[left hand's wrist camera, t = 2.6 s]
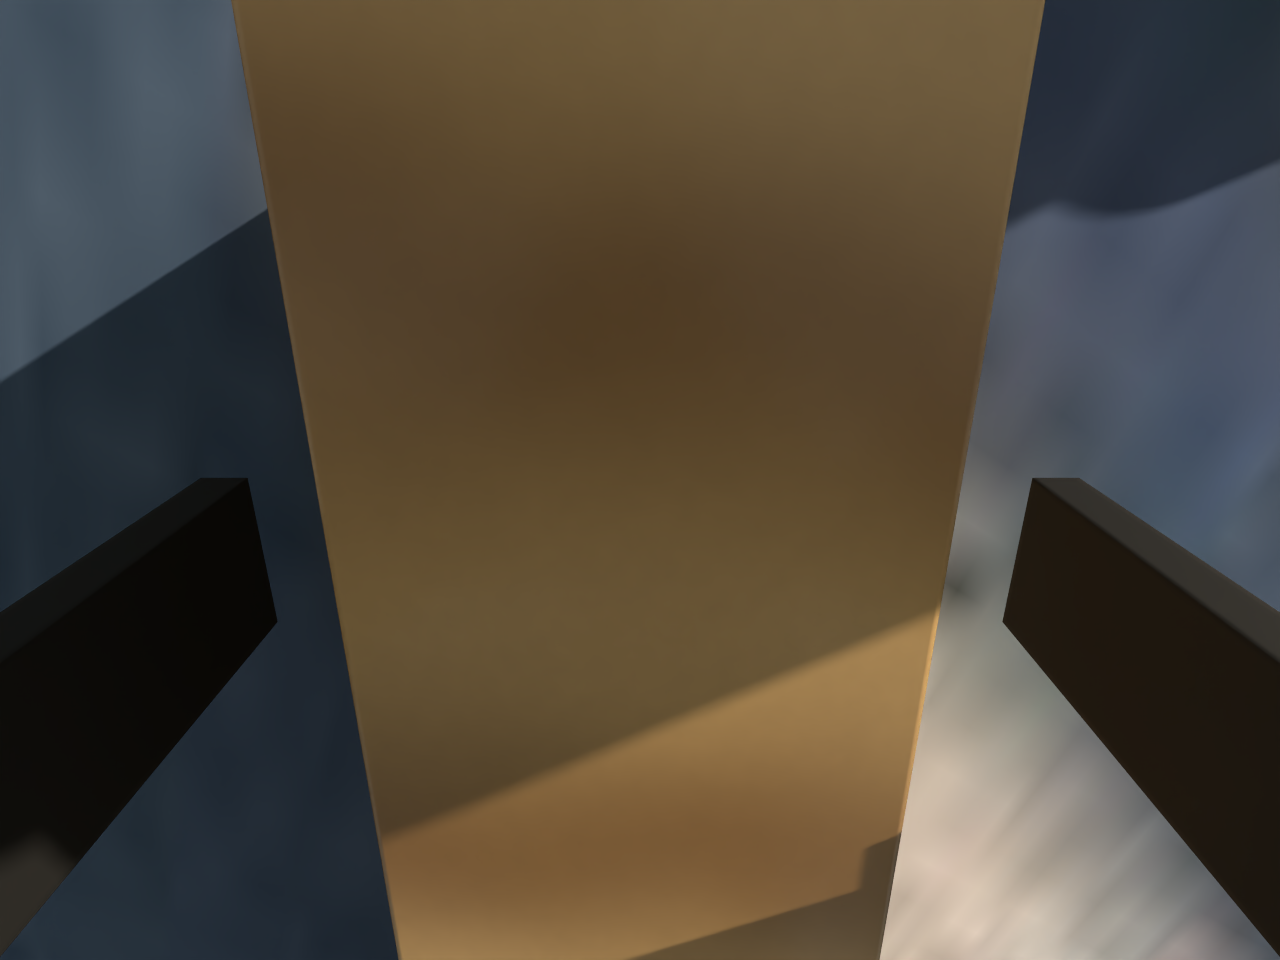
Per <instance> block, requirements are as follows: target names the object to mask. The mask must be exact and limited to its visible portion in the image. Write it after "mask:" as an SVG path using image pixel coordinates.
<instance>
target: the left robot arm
mask: <svg viewBox="0 0 1280 960" xmlns="http://www.w3.org/2000/svg"><path fill="white" fill-rule="evenodd" d="M276 623H277V617H276V612H275V607H274V603H273V598H272V593H271V588H270V583H269V579H268V574H267V569H266V564H265V559H264V555H263V550H262V545H261V540H260V535H259V531H258V526H257V521H256V516H255V511H254V507H253V502H252V497H251V492H250V487H249V483H248V478H200V479H199V480H197V481H196V482H194V483H193V484H191V485H190V486H188V487H187V488H185V489H184V490H182V491H181V492H179V493H178V494H176V495H175V496H173V497H172V498H170V499H169V500H167V501H166V502H164V503H163V504H161V505H160V506H158V507H157V508H155V509H154V510H153V511H151V512H150V513H148V514H147V515H145V516H144V517H142V518H141V519H139V520H138V521H136V522H135V523H133V524H132V525H130V526H129V527H127V528H126V529H124V530H123V531H121V532H120V533H118V534H117V535H115V536H114V537H112V538H111V539H109V540H108V541H106V542H105V543H103V544H102V545H100V546H99V547H97V548H96V549H94V550H93V551H91V552H90V553H88V554H87V555H85V556H84V557H82V558H81V559H79V560H78V561H76V562H75V563H73V564H72V565H70V566H69V567H67V568H66V569H64V570H63V571H61V572H60V573H58V574H57V575H55V576H54V577H52V578H51V579H49V580H48V581H47V582H45V583H44V584H42V585H41V586H39V587H38V588H36V589H35V590H33V591H32V592H30V593H29V594H27V595H26V596H24V597H23V598H21V599H20V600H18V601H17V602H15V603H14V604H12V605H11V606H9V607H8V608H6V609H5V610H3V611H2V612H0V956H1V955H2V954H3V953H4V952H5V950H6V949H7V948H8V947H9V946H10V944H11V943H12V942H13V941H14V939H15V938H16V937H17V936H18V935H19V933H20V932H21V931H22V930H23V929H24V927H25V926H26V925H27V924H28V923H29V921H30V920H31V919H32V918H33V917H34V915H35V914H36V913H37V912H38V910H39V909H40V908H41V907H42V906H43V904H44V903H45V902H46V901H47V900H48V898H49V897H50V896H51V895H52V894H53V892H54V891H55V890H56V889H57V888H58V886H59V885H60V884H61V883H62V881H63V880H64V879H65V878H66V877H67V875H68V874H69V873H70V872H71V871H72V869H73V868H74V867H75V866H76V865H77V863H78V862H79V861H80V860H81V859H82V857H83V856H84V855H85V854H86V853H87V851H88V850H89V849H90V848H91V846H92V845H93V844H94V843H95V842H96V840H97V839H98V838H99V837H100V836H101V834H102V833H103V832H104V831H105V830H106V828H107V827H108V826H109V825H110V824H111V822H112V821H113V820H114V819H115V817H116V816H117V815H118V814H119V813H120V811H121V810H122V809H123V808H124V807H125V805H126V804H127V803H128V802H129V801H130V799H131V798H132V797H133V796H134V795H135V793H136V792H137V791H138V790H139V788H140V787H141V786H142V785H143V784H144V782H145V781H146V780H147V779H148V778H149V776H150V775H151V774H152V773H153V772H154V770H155V769H156V768H157V767H158V766H159V764H160V763H161V762H162V761H163V760H164V758H165V757H166V756H167V755H168V753H169V752H170V751H171V750H172V749H173V747H174V746H175V745H176V744H177V743H178V741H179V740H180V739H181V738H182V737H183V735H184V734H185V733H186V732H187V731H188V729H189V728H190V727H191V726H192V724H193V723H194V722H195V721H196V720H197V718H198V717H199V716H200V715H201V714H202V712H203V711H204V710H205V709H206V708H207V706H208V705H209V704H210V703H211V702H212V700H213V699H214V698H215V697H216V695H217V694H218V693H219V692H220V691H221V689H222V688H223V687H224V686H225V685H226V683H227V682H228V681H229V680H230V679H231V677H232V676H233V675H234V674H235V673H236V671H237V670H238V669H239V668H240V667H241V665H242V664H243V663H244V662H245V660H246V659H247V658H248V657H249V656H250V654H251V653H252V652H253V651H254V650H255V648H256V647H257V646H258V645H259V644H260V642H261V641H262V640H263V639H264V638H265V636H266V635H267V634H268V633H269V631H270V630H271V629H272V628H273V627H274V625H275V624H276ZM1003 623H1004V624H1005V625H1006V627H1007V628H1008V629H1009V630H1010V631H1011V633H1012V634H1013V635H1014V636H1015V637H1016V639H1017V640H1018V641H1019V642H1020V644H1021V645H1022V646H1023V647H1024V648H1025V650H1026V651H1027V652H1028V653H1029V654H1030V656H1031V657H1032V658H1033V659H1034V660H1035V662H1036V663H1037V664H1038V665H1039V666H1040V668H1041V669H1042V670H1043V671H1044V673H1045V674H1046V675H1047V676H1048V677H1049V679H1050V680H1051V681H1052V682H1053V683H1054V685H1055V686H1056V687H1057V688H1058V689H1059V691H1060V692H1061V693H1062V694H1063V695H1064V697H1065V698H1066V699H1067V700H1068V701H1069V703H1070V704H1071V705H1072V706H1073V708H1074V709H1075V710H1076V711H1077V712H1078V714H1079V715H1080V716H1081V717H1082V718H1083V720H1084V721H1085V722H1086V723H1087V724H1088V726H1089V727H1090V728H1091V729H1092V730H1093V732H1094V733H1095V734H1096V735H1097V737H1098V738H1099V739H1100V740H1101V741H1102V743H1103V744H1104V745H1105V746H1106V747H1107V749H1108V750H1109V751H1110V752H1111V753H1112V755H1113V756H1114V757H1115V758H1116V759H1117V761H1118V762H1119V763H1120V764H1121V766H1122V767H1123V768H1124V769H1125V770H1126V772H1127V773H1128V774H1129V775H1130V776H1131V778H1132V779H1133V780H1134V781H1135V782H1136V784H1137V785H1138V786H1139V787H1140V788H1141V790H1142V791H1143V792H1144V793H1145V794H1146V796H1147V797H1148V798H1149V799H1150V801H1151V802H1152V803H1153V804H1154V805H1155V807H1156V808H1157V809H1158V810H1159V811H1160V813H1161V814H1162V815H1163V816H1164V817H1165V819H1166V820H1167V821H1168V822H1169V823H1170V825H1171V826H1172V827H1173V828H1174V830H1175V831H1176V832H1177V833H1178V834H1179V836H1180V837H1181V838H1182V839H1183V840H1184V842H1185V843H1186V844H1187V845H1188V846H1189V848H1190V849H1191V850H1192V851H1193V852H1194V854H1195V855H1196V856H1197V857H1198V859H1199V860H1200V861H1201V862H1202V863H1203V865H1204V866H1205V867H1206V868H1207V869H1208V871H1209V872H1210V873H1211V874H1212V875H1213V877H1214V878H1215V879H1216V880H1217V881H1218V883H1219V884H1220V885H1221V886H1222V887H1223V889H1224V890H1225V891H1226V892H1227V894H1228V895H1229V896H1230V897H1231V898H1232V900H1233V901H1234V902H1235V903H1236V904H1237V906H1238V907H1239V908H1240V909H1241V910H1242V912H1243V913H1244V914H1245V915H1246V916H1247V918H1248V919H1249V920H1250V921H1251V923H1252V924H1253V925H1254V926H1255V927H1256V929H1257V930H1258V931H1259V932H1260V933H1261V935H1262V936H1263V937H1264V938H1265V939H1266V941H1267V942H1268V943H1269V944H1270V945H1271V947H1272V948H1273V949H1274V950H1275V952H1276V953H1277V954H1278V955H1279V956H1280V612H1278V611H1277V610H1275V609H1274V608H1272V607H1271V606H1269V605H1268V604H1266V603H1265V602H1263V601H1262V600H1260V599H1259V598H1257V597H1256V596H1254V595H1253V594H1251V593H1250V592H1248V591H1247V590H1245V589H1244V588H1242V587H1241V586H1240V585H1238V584H1237V583H1235V582H1234V581H1232V580H1231V579H1229V578H1228V577H1226V576H1225V575H1223V574H1222V573H1220V572H1219V571H1217V570H1216V569H1214V568H1213V567H1211V566H1210V565H1208V564H1207V563H1205V562H1204V561H1202V560H1201V559H1199V558H1198V557H1196V556H1195V555H1193V554H1192V553H1190V552H1189V551H1187V550H1186V549H1184V548H1183V547H1181V546H1180V545H1178V544H1177V543H1175V542H1174V541H1172V540H1171V539H1169V538H1168V537H1166V536H1165V535H1163V534H1162V533H1160V532H1159V531H1157V530H1156V529H1154V528H1153V527H1151V526H1150V525H1148V524H1147V523H1145V522H1144V521H1142V520H1141V519H1139V518H1138V517H1136V516H1135V515H1134V514H1132V513H1131V512H1129V511H1128V510H1126V509H1125V508H1123V507H1122V506H1120V505H1119V504H1117V503H1116V502H1114V501H1113V500H1111V499H1110V498H1108V497H1107V496H1105V495H1104V494H1102V493H1101V492H1099V491H1098V490H1096V489H1095V488H1093V487H1092V486H1090V485H1089V484H1087V483H1086V482H1084V481H1083V480H1081V479H1080V478H1032V483H1031V488H1030V492H1029V497H1028V502H1027V507H1026V512H1025V516H1024V521H1023V526H1022V531H1021V536H1020V540H1019V545H1018V550H1017V555H1016V560H1015V564H1014V569H1013V574H1012V579H1011V584H1010V588H1009V593H1008V598H1007V603H1006V608H1005V612H1004V617H1003Z"/></svg>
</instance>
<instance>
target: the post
mask: <svg viewBox="0 0 1280 960" xmlns="http://www.w3.org/2000/svg"><path fill="white" fill-rule="evenodd" d="M231 1H232V7H233V13H234V19H235V24H236V30H237V36H238V42H239V47H240V53H241V59H242V64H243V70H244V76H245V82H246V87H247V93H248V99H249V105H250V110H251V116H252V122H253V128H254V133H255V139H256V145H257V151H258V156H259V162H260V168H261V173H262V179H263V185H264V191H265V196H266V202H267V208H268V214H269V219H270V225H271V231H272V237H273V242H274V248H275V254H276V259H277V265H278V271H279V277H280V282H281V288H282V294H283V300H284V305H285V311H286V317H287V323H288V328H289V334H290V340H291V345H292V351H293V357H294V363H295V368H296V374H297V380H298V386H299V391H300V397H301V403H302V409H303V414H304V420H305V426H306V432H307V437H308V443H309V449H310V454H311V460H312V466H313V472H314V477H315V483H316V489H317V495H318V500H319V506H320V512H321V518H322V523H323V529H324V535H325V540H326V546H327V552H328V558H329V563H330V569H331V575H332V581H333V586H334V592H335V598H336V604H337V609H338V615H339V621H340V626H341V632H342V638H343V644H344V649H345V655H346V661H347V667H348V672H349V678H350V684H351V690H352V695H353V701H354V707H355V713H356V718H357V724H358V730H359V735H360V741H361V747H362V753H363V758H364V764H365V770H366V776H367V781H368V787H369V793H370V799H371V804H372V810H373V816H374V821H375V827H376V833H377V839H378V844H379V850H380V856H381V862H382V867H383V873H384V879H385V885H386V890H387V896H388V902H389V907H390V913H391V919H392V925H393V930H394V936H395V942H396V948H397V953H398V959H399V960H879V959H880V953H881V947H882V942H883V936H884V930H885V924H886V918H887V913H888V907H889V901H890V895H891V890H892V884H893V878H894V872H895V866H896V861H897V855H898V849H899V843H900V837H901V832H902V826H903V820H904V814H905V809H906V803H907V797H908V791H909V785H910V780H911V774H912V768H913V762H914V756H915V751H916V745H917V739H918V733H919V728H920V722H921V716H922V710H923V704H924V699H925V693H926V687H927V681H928V675H929V670H930V664H931V658H932V652H933V647H934V641H935V635H936V629H937V623H938V618H939V612H940V606H941V600H942V594H943V589H944V583H945V577H946V571H947V566H948V560H949V554H950V548H951V542H952V537H953V531H954V525H955V519H956V513H957V508H958V502H959V496H960V490H961V485H962V479H963V473H964V467H965V461H966V456H967V450H968V444H969V438H970V432H971V427H972V421H973V415H974V409H975V404H976V398H977V392H978V386H979V380H980V375H981V369H982V363H983V357H984V351H985V346H986V340H987V334H988V328H989V323H990V317H991V311H992V305H993V299H994V294H995V288H996V282H997V276H998V270H999V265H1000V259H1001V253H1002V247H1003V241H1004V236H1005V230H1006V224H1007V218H1008V213H1009V207H1010V201H1011V195H1012V189H1013V184H1014V178H1015V172H1016V166H1017V160H1018V155H1019V149H1020V143H1021V137H1022V132H1023V126H1024V120H1025V114H1026V108H1027V103H1028V97H1029V91H1030V85H1031V79H1032V74H1033V68H1034V62H1035V56H1036V51H1037V45H1038V39H1039V33H1040V27H1041V22H1042V16H1043V10H1044V4H1045V0H231Z"/></svg>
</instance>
